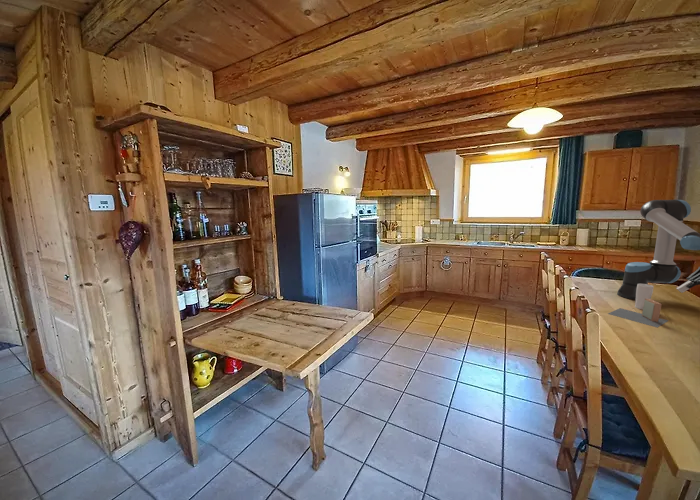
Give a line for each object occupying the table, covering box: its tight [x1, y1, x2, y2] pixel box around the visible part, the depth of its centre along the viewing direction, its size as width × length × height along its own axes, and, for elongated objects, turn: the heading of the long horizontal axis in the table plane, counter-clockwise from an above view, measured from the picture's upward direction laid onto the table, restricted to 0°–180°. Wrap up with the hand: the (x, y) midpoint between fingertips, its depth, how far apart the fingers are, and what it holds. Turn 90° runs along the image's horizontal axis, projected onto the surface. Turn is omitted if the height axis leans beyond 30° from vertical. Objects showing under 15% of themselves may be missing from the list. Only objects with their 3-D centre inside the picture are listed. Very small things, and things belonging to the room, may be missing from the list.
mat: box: [607, 308, 669, 328], centre depth 155 cm, size 17×20×1 cm
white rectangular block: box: [634, 283, 654, 311], centre depth 166 cm, size 7×7×15 cm
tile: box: [641, 298, 663, 322], centre depth 152 cm, size 3×8×10 cm, turn 163°
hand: (679, 290), depth 147 cm, fingers closed
